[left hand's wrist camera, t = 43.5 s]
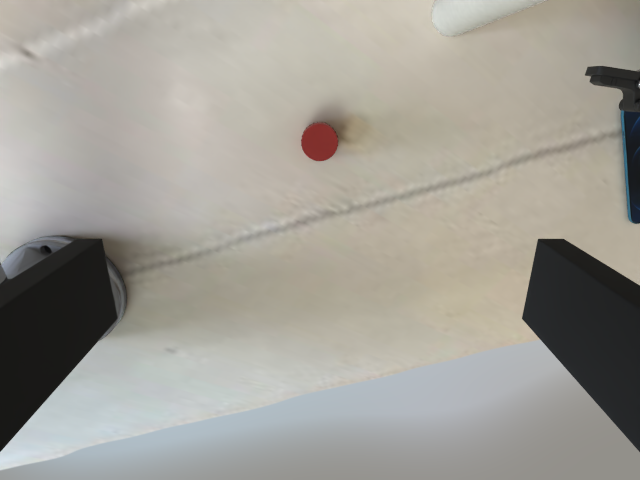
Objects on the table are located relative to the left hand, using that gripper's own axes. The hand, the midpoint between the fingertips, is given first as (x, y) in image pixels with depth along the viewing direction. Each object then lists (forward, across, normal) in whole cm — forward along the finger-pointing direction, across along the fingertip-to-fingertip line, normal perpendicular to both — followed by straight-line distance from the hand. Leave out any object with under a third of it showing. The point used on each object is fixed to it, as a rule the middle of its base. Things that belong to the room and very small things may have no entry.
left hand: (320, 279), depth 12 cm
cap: (+35, 0, 0) cm, 35 cm away
